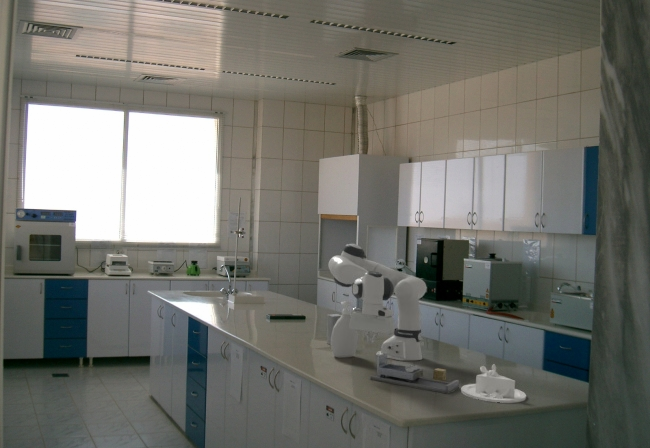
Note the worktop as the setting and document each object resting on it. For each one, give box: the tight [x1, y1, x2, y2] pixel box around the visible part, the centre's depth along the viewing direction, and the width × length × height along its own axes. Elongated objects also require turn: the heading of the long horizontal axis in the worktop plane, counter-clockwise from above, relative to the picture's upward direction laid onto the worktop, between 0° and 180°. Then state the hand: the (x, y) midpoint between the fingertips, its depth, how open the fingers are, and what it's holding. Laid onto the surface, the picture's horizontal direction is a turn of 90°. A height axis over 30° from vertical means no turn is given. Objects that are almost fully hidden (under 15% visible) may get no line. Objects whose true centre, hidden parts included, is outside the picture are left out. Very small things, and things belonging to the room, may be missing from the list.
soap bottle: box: [330, 300, 359, 359], centre depth 318 cm, size 14×8×27 cm, turn 117°
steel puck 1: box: [405, 366, 414, 373], centre depth 270 cm, size 3×3×3 cm
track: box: [370, 374, 460, 395], centre depth 271 cm, size 34×12×3 cm, turn 59°
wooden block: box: [432, 367, 447, 382], centre depth 279 cm, size 4×4×4 cm
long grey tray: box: [376, 353, 424, 383], centre depth 274 cm, size 17×10×9 cm, turn 59°
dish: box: [460, 363, 527, 404], centre depth 260 cm, size 25×25×11 cm
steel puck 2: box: [409, 364, 419, 373], centre depth 273 cm, size 3×3×3 cm
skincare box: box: [326, 313, 342, 346], centre depth 347 cm, size 8×7×16 cm
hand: (370, 342), depth 281 cm, fingers closed
